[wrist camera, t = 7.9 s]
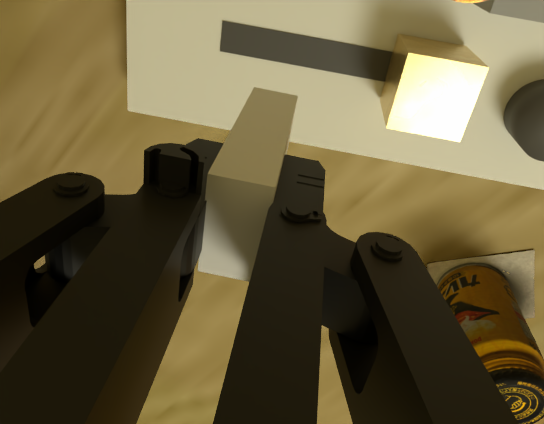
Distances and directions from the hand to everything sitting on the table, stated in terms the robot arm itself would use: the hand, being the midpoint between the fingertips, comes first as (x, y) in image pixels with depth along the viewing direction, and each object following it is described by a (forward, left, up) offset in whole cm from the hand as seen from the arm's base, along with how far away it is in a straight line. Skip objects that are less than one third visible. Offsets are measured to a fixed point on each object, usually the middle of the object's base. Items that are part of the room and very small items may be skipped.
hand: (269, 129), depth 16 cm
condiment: (+19, -18, -19) cm, 33 cm away
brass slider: (+8, 0, -14) cm, 16 cm away
